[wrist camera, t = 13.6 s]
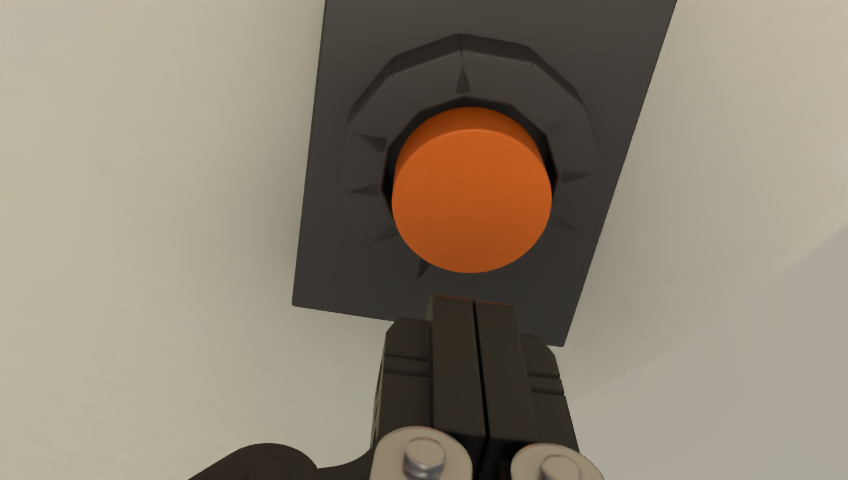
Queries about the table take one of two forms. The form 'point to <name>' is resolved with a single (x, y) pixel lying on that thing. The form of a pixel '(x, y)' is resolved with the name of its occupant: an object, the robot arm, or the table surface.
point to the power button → (470, 190)
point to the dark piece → (468, 87)
